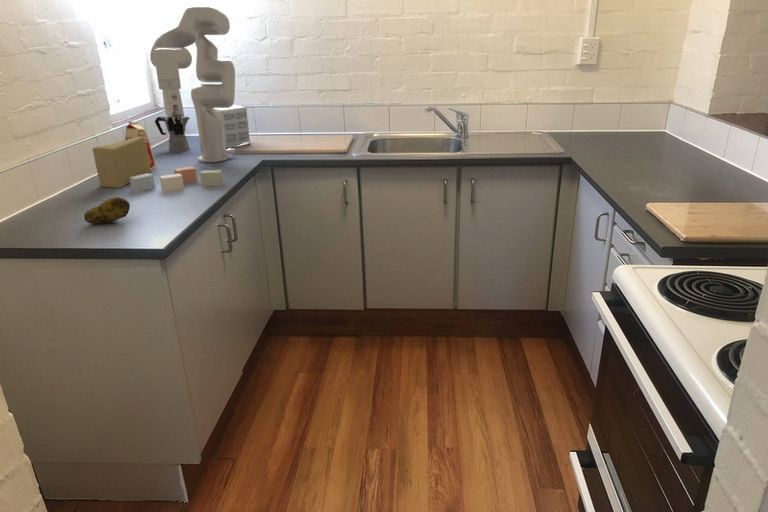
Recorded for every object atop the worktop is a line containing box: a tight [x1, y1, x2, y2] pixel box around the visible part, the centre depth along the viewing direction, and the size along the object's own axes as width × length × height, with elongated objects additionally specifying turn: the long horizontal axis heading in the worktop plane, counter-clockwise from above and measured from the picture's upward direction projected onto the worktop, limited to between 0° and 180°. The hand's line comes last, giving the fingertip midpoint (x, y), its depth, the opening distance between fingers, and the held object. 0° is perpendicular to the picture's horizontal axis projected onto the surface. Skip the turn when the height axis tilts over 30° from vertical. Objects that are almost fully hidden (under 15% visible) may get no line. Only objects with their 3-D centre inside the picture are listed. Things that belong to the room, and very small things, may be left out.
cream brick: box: [159, 173, 185, 193], centre depth 207 cm, size 7×4×5 cm, turn 122°
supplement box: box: [214, 103, 251, 149], centre depth 275 cm, size 17×13×18 cm
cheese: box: [92, 137, 152, 189], centre depth 217 cm, size 22×10×15 cm, turn 161°
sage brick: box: [199, 169, 224, 187], centre depth 212 cm, size 7×4×5 cm, turn 92°
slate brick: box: [130, 173, 156, 193], centre depth 207 cm, size 7×4×5 cm, turn 142°
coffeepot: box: [154, 115, 191, 153], centre depth 263 cm, size 15×9×18 cm, turn 103°
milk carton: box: [124, 120, 157, 171], centre depth 231 cm, size 9×9×20 cm
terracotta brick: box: [174, 165, 198, 184], centre depth 217 cm, size 7×4×5 cm, turn 122°
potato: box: [83, 196, 131, 225], centre depth 173 cm, size 8×13×8 cm, turn 78°
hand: (176, 132), depth 211 cm, fingers open, 9 cm apart
